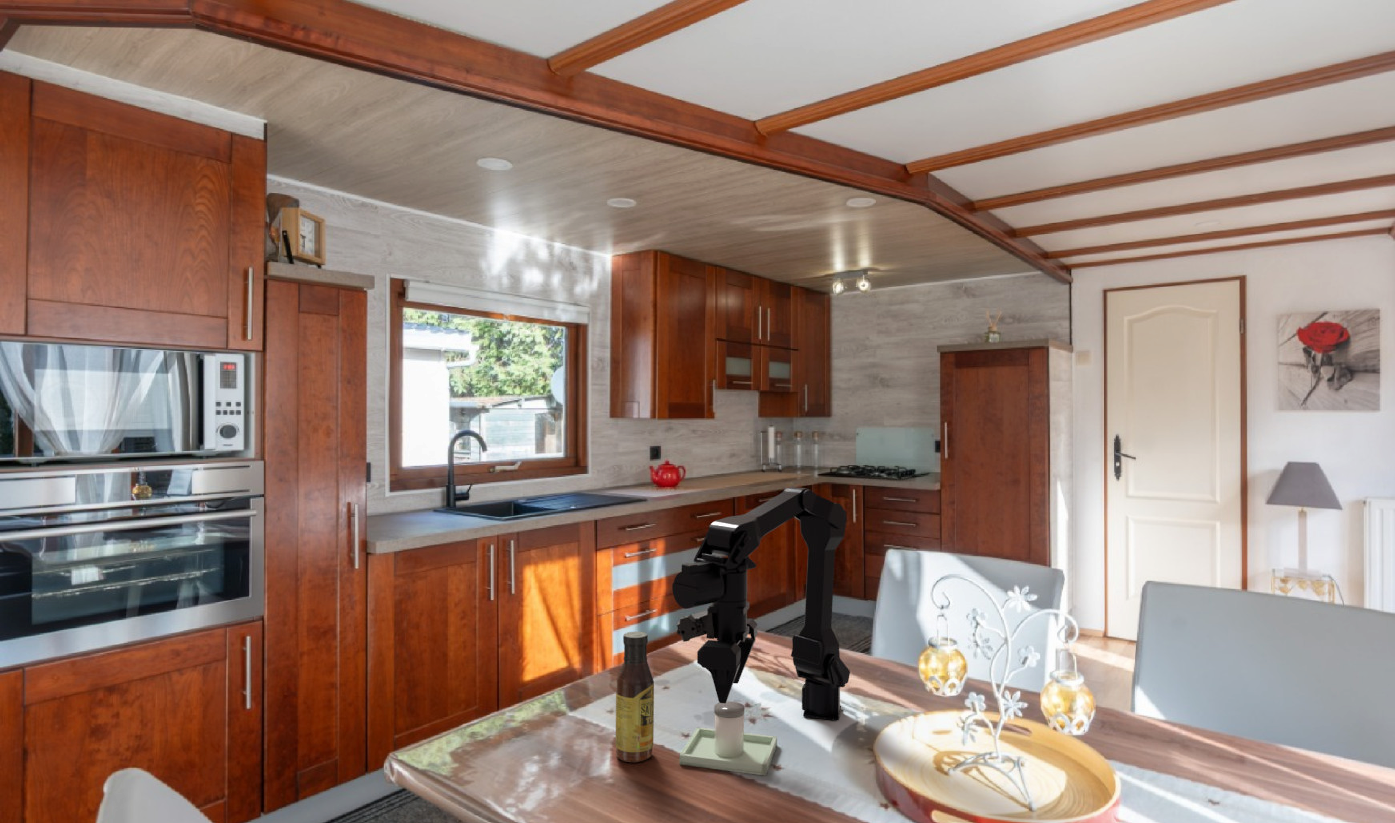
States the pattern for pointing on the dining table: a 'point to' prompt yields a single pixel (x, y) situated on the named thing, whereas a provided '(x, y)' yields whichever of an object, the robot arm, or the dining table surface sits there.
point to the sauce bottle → (634, 701)
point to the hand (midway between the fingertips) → (728, 692)
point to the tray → (750, 761)
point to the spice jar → (729, 729)
